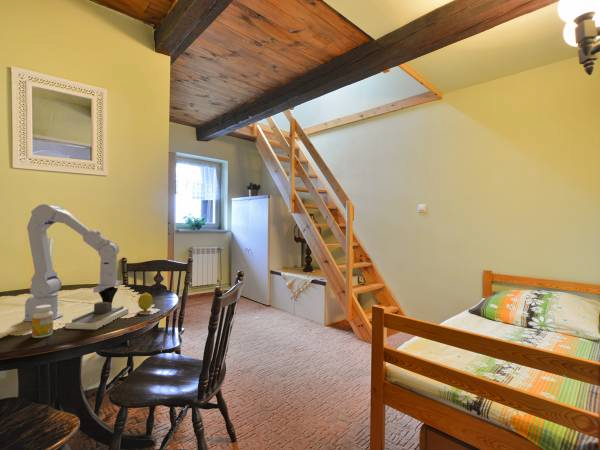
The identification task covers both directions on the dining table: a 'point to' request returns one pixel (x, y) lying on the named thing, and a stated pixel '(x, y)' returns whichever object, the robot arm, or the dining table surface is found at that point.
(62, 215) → the robot arm
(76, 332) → the dining table surface
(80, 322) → the fader console
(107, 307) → the fader knob
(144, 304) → the yellow oval piece
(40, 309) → the supplement bottle
